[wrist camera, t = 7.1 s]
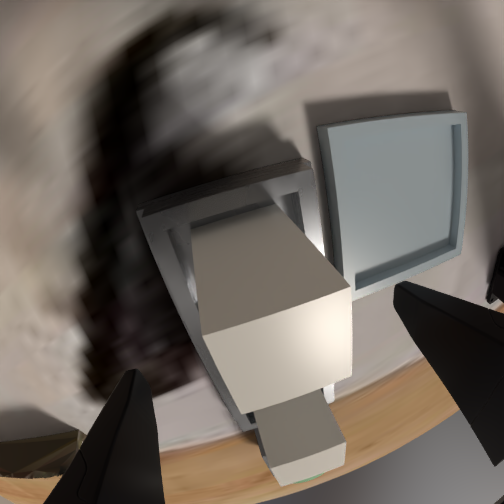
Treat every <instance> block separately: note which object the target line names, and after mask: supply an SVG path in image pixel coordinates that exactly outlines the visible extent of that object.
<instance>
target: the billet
mask: <svg viewBox="0 0 504 504" xmlns="http://www.w3.org/2000/svg"><path fill="white" fill-rule="evenodd" d="M190 231H191V242H192V253H193V263H194V273H195V282H196V291H197V300H198V308H199V316H200V324H201V331H202V337H203V339H204V341H205V343H206V345H207V347H208V350H209V352H210V354H211V356H212V358H213V360H214V362H215V364H216V366H217V368H218V370H219V372H220V374H221V376H222V378H223V380H224V382H225V384H226V386H227V388H228V390H229V392H230V394H231V396H232V398H233V399H234V401H235V403H236V405H237V407H238V409H239V411H240V413H241V414H246V413H249V412H252V411H256V410H259V409H263V408H266V407H269V406H272V405H275V404H278V403H281V402H284V401H287V400H290V399H293V398H296V397H299V396H302V395H304V394H307V393H310V392H313V391H315V390H318V389H320V388H323V387H326V386H328V385H331V384H333V383H336V382H338V381H340V380H343V379H345V378H348V377H350V376H352V298H351V286H350V285H349V284H348V282H347V281H346V280H345V279H344V278H343V277H342V276H341V274H340V273H339V272H338V271H337V270H336V269H335V268H334V266H333V265H332V264H331V263H330V262H329V261H328V260H327V259H326V257H325V256H324V255H323V254H322V253H321V252H320V251H319V250H318V249H317V247H316V246H315V245H314V244H313V243H312V242H311V241H310V240H309V239H308V238H307V237H306V235H305V234H304V233H303V232H302V231H301V230H300V229H299V228H298V227H297V226H296V225H295V224H294V222H293V221H292V220H291V219H290V218H289V217H288V216H287V215H286V214H285V213H284V212H283V211H282V210H281V209H280V207H279V206H278V205H277V204H273V205H269V206H266V207H262V208H259V209H256V210H252V211H249V212H245V213H242V214H239V215H235V216H232V217H229V218H225V219H222V220H219V221H216V222H212V223H209V224H206V225H203V226H199V227H196V228H193V229H190Z"/></svg>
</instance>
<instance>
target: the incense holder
mask: <svg viewBox="0 0 504 504" xmlns="http://www.w3.org/2000/svg"><path fill="white" fill-rule="evenodd" d="M86 436H87V435H86V434H84V433H83V432H81V431H80V430H75V431H70V432H65V433H60V434H55V435H49V436H43V437H36V438H30V439H22V440H14V441H6V442H0V477H10V478H26V479H27V478H28V479H33V478H39V479H40V478H47V479H48V478H49V477H53V476H59V475H60V476H61V475H63V474H64V473H65V471H66V470H67V468H68V467H69V465H70V463H71V462H72V460H73V458H74V457H75V455H76V453H77V451H78V450H79V449H80V446H81V443H82V441H84V439H85V438H86Z"/></svg>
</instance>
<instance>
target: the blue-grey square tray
mask: <svg viewBox="0 0 504 504" xmlns="http://www.w3.org/2000/svg"><path fill="white" fill-rule="evenodd" d="M317 132H318V138H319V144H320V150H321V156H322V163H323V170H324V177H325V184H326V191H327V199H328V207H329V215H330V224H331V233H332V243H333V253H334V265H335V269H336V270H337V271H338V272H339V273H340V274H341V276H342V277H343V278H344V279H345V280H346V281H347V282H348V284H349V285H350V286H351V298H352V301H354V300H357V299H359V298H362V297H364V296H367V295H369V294H372V293H374V292H377V291H379V290H382V289H384V288H386V287H389V286H391V285H394V284H396V283H398V282H401V281H403V280H405V279H408V278H410V277H412V276H415V275H417V274H419V273H421V272H424V271H426V270H428V269H430V268H432V267H435V266H437V265H439V264H441V263H443V262H445V261H447V260H450V259H452V258H454V257H456V256H458V255H460V254H461V250H462V243H463V235H464V226H465V217H466V205H467V188H468V127H467V112H461V111H455V110H446V111H430V112H417V113H406V114H396V115H387V116H379V117H371V118H364V119H357V120H350V121H343V122H337V123H331V124H325V125H320V126H317Z"/></svg>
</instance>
